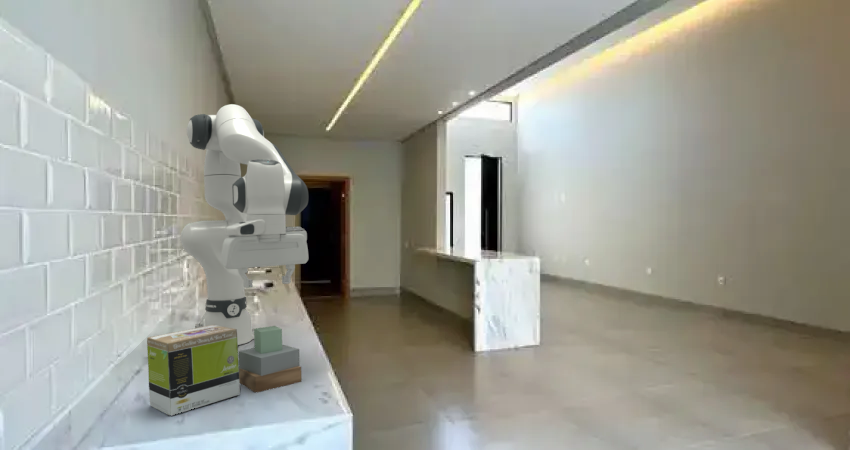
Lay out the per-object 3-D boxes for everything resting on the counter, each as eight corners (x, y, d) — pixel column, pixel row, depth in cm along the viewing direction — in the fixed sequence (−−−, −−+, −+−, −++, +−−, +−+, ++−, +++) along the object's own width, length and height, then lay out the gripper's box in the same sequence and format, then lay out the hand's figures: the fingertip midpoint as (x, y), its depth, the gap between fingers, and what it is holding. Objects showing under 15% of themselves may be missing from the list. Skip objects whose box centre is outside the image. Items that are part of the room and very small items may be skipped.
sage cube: (254, 349, 119) (254, 328, 119) (275, 346, 122) (274, 325, 122) (261, 353, 115) (260, 332, 115) (282, 350, 118) (281, 328, 118)
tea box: (217, 387, 115) (215, 323, 115) (240, 396, 109) (239, 328, 109) (147, 406, 104) (146, 335, 104) (169, 417, 97) (167, 341, 97)
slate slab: (238, 368, 118) (238, 351, 118) (276, 358, 126) (276, 343, 126) (261, 376, 112) (261, 358, 112) (299, 365, 119) (299, 348, 119)
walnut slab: (237, 383, 119) (236, 367, 119) (280, 374, 126) (280, 358, 126) (255, 395, 111) (255, 377, 111) (301, 384, 118) (301, 367, 118)
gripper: (300, 226, 128) (301, 280, 128) (218, 228, 115) (219, 288, 115) (312, 226, 123) (313, 282, 123) (228, 228, 110) (229, 291, 110)
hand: (267, 285), depth 119 cm, fingers open, 8 cm apart
